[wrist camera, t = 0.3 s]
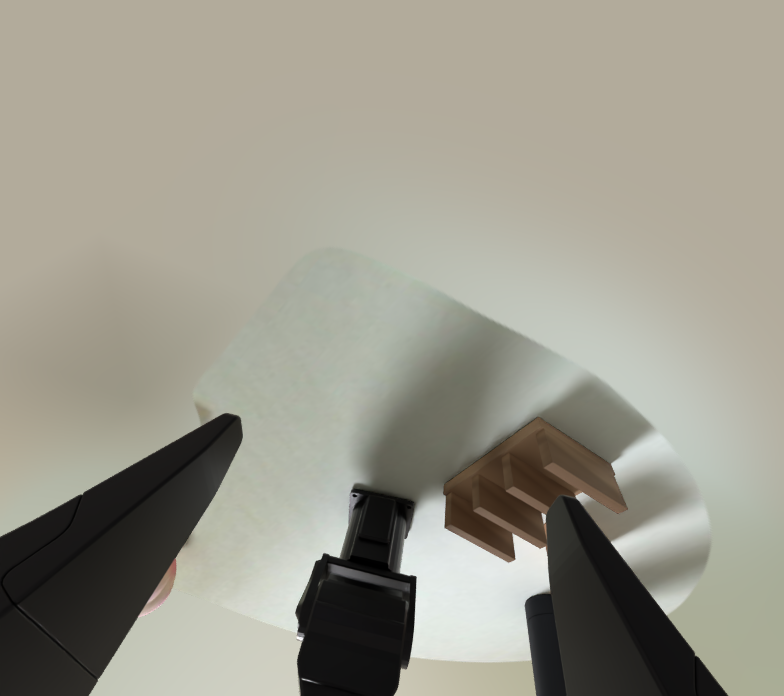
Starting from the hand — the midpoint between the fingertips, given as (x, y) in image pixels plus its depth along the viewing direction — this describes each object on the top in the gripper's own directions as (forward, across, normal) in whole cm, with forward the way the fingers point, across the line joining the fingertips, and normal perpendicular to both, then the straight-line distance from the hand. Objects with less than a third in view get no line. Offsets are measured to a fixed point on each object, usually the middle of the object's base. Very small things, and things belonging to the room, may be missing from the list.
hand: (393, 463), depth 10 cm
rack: (+14, -11, +16) cm, 24 cm away
